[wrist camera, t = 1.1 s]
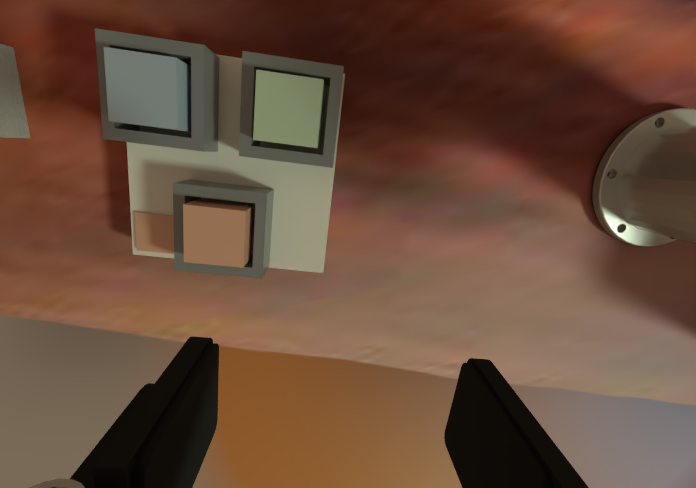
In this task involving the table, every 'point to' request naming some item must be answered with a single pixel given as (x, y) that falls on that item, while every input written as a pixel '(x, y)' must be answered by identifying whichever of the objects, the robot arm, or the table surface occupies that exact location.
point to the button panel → (228, 159)
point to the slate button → (148, 89)
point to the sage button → (288, 109)
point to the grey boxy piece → (11, 97)
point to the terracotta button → (217, 233)
